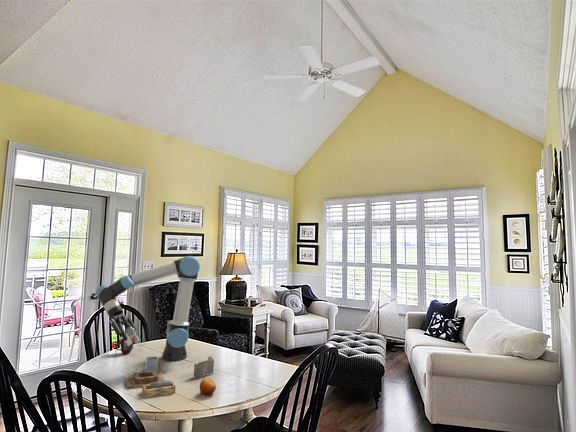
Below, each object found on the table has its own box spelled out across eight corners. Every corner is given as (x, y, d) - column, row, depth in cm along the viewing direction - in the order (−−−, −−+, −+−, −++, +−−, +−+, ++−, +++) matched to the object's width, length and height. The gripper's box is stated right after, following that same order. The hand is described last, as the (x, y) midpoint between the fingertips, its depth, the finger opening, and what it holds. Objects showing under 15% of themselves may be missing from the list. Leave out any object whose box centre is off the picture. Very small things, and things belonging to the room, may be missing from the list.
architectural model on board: (209, 373, 201) (210, 355, 202) (213, 374, 199) (214, 356, 200) (193, 377, 192) (194, 359, 193) (196, 379, 191) (197, 360, 191)
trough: (172, 387, 177) (172, 377, 177) (175, 393, 170) (175, 381, 171) (142, 392, 170) (143, 380, 170) (144, 397, 164) (144, 386, 164)
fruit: (196, 387, 175) (206, 373, 176) (210, 396, 175) (219, 381, 176) (193, 393, 167) (203, 379, 168) (207, 403, 167) (217, 388, 168)
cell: (132, 347, 196) (134, 326, 197) (133, 349, 192) (135, 327, 193) (123, 348, 194) (124, 326, 195) (123, 350, 190) (125, 328, 191)
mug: (117, 356, 221) (118, 340, 222) (113, 353, 227) (114, 337, 228) (134, 354, 228) (136, 338, 229) (130, 351, 234) (131, 335, 235)
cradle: (160, 374, 193) (161, 368, 194) (165, 383, 181) (166, 376, 182) (124, 379, 185) (125, 372, 185) (127, 389, 173) (127, 381, 173)
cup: (155, 368, 203) (156, 356, 203) (157, 372, 197) (158, 359, 198) (144, 370, 200) (145, 357, 200) (146, 373, 194) (147, 360, 195)
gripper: (122, 311, 208) (142, 343, 201) (96, 316, 192) (116, 351, 184) (129, 303, 207) (150, 335, 199) (104, 307, 190) (125, 342, 183)
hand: (134, 343), depth 192 cm, fingers closed on cell, 5 cm apart
